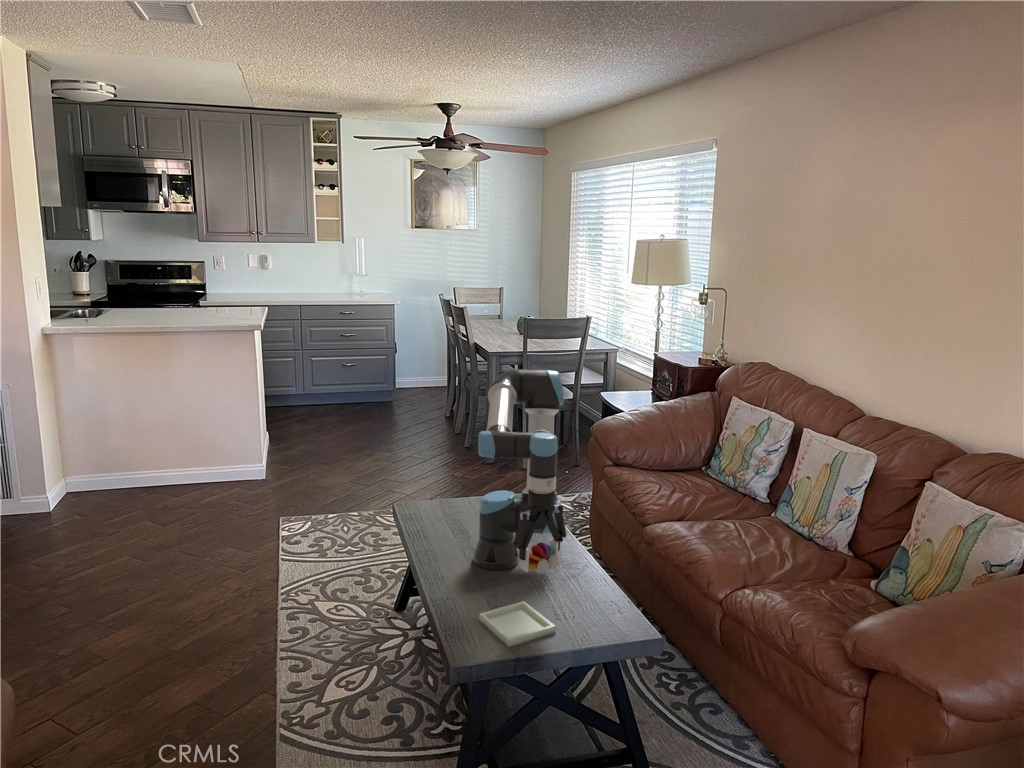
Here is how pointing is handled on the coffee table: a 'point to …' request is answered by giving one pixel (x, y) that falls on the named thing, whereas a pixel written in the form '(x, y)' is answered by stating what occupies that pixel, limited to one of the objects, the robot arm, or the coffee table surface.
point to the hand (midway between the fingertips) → (539, 566)
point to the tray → (517, 623)
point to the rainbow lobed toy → (542, 557)
